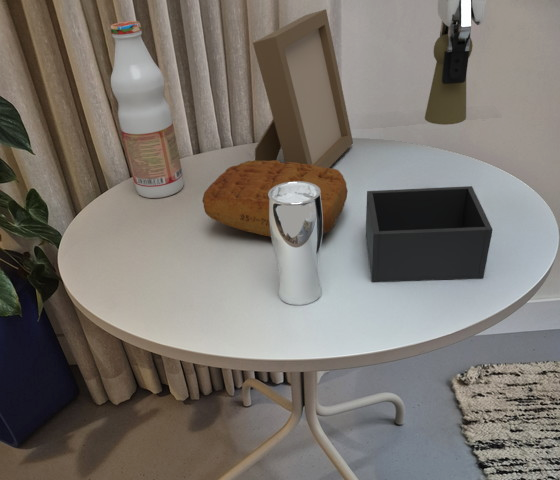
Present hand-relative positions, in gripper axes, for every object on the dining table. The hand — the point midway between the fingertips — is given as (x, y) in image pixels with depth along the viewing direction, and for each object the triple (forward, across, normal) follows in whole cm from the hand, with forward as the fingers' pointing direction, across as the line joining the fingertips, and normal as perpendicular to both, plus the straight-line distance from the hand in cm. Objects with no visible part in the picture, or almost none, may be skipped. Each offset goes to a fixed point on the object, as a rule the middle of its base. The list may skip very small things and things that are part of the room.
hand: (450, 75), depth 82 cm
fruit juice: (+21, +14, +50) cm, 57 cm away
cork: (+6, 0, 0) cm, 6 cm away
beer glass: (+21, -23, +22) cm, 38 cm away
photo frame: (+21, +24, +24) cm, 40 cm away
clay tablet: (+21, -1, +26) cm, 34 cm away
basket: (+21, -14, +4) cm, 26 cm away
